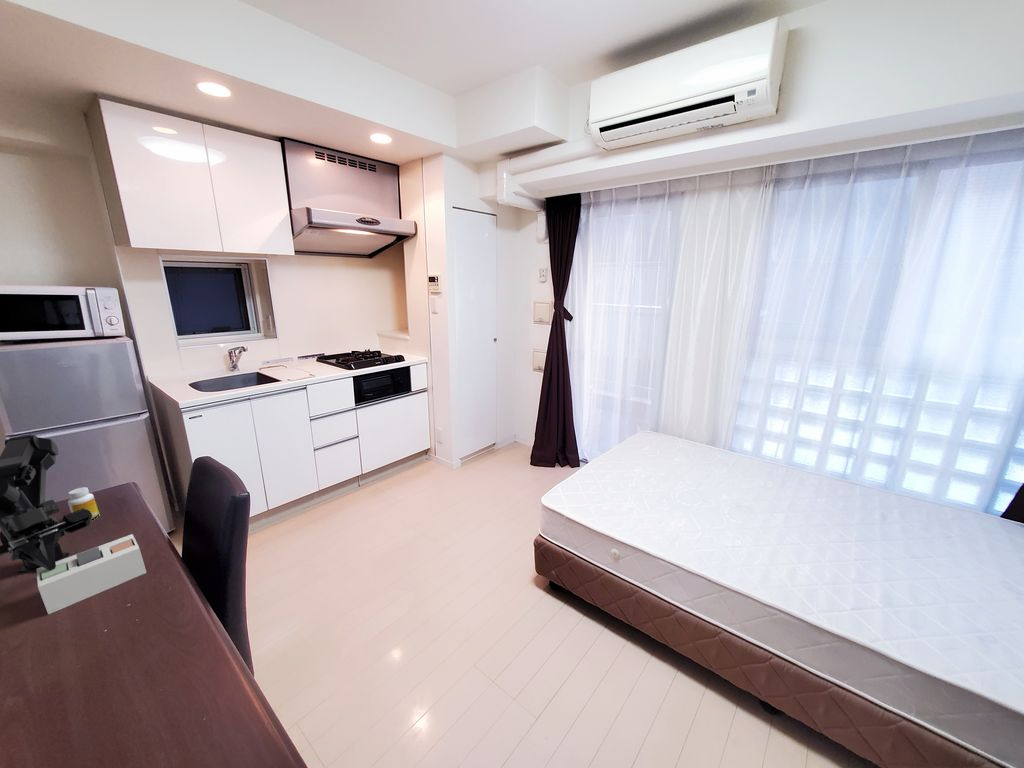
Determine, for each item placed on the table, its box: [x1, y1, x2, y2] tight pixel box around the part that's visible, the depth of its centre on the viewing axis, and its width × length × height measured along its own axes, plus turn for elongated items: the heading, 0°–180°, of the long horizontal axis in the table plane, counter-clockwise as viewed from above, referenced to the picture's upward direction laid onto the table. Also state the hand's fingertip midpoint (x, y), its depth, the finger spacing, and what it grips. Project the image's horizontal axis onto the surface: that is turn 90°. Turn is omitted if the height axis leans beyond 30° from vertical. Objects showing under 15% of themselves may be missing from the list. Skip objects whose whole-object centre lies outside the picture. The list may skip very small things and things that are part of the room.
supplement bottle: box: [67, 486, 100, 519], centre depth 119 cm, size 5×5×10 cm
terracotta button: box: [111, 540, 133, 553], centre depth 96 cm, size 4×4×2 cm
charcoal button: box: [75, 546, 102, 566], centre depth 92 cm, size 4×4×2 cm
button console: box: [36, 533, 147, 615], centre depth 93 cm, size 9×16×7 cm, turn 141°
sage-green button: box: [41, 562, 68, 580], centre depth 88 cm, size 4×4×2 cm
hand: (53, 568), depth 88 cm, fingers closed, pressing on sage-green button
